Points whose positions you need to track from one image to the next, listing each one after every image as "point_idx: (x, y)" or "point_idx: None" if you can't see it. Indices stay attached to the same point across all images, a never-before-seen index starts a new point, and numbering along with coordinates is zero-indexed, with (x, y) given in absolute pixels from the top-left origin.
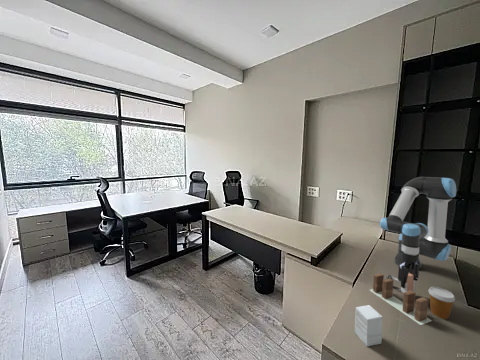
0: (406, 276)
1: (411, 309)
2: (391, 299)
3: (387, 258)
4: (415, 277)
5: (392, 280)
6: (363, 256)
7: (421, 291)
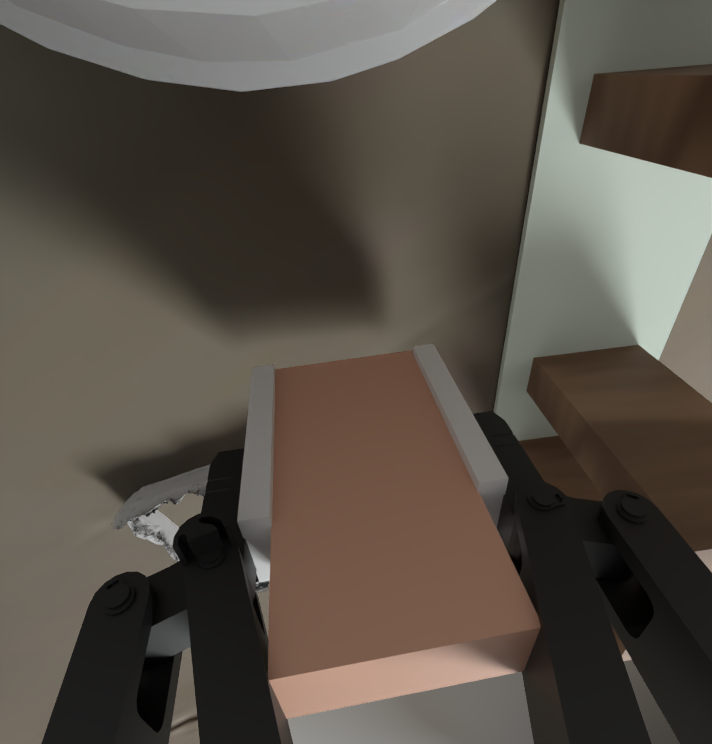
0: (609, 656)
1: (684, 68)
2: (585, 330)
3: (16, 724)
4: (205, 599)
5: (708, 552)
6: None
7: (59, 380)
